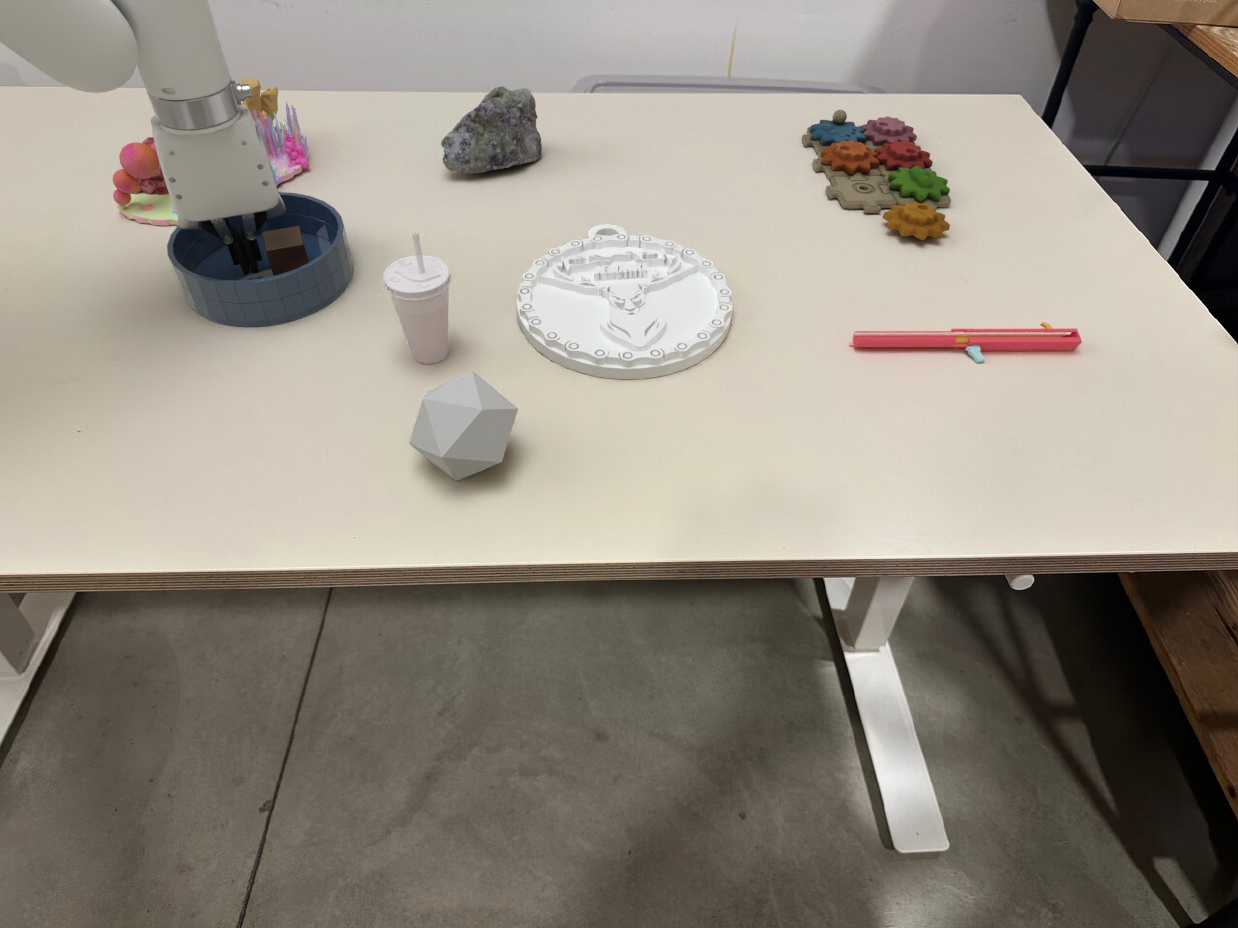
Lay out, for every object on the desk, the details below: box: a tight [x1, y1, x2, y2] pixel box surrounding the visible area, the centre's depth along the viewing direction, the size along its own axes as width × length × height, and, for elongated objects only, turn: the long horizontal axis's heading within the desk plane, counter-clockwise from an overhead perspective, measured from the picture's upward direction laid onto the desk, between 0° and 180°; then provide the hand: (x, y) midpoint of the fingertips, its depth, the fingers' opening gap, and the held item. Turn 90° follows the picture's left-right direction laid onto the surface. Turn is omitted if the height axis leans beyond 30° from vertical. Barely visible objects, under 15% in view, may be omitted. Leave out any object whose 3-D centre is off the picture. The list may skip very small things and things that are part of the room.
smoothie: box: [382, 231, 452, 365], centre depth 84 cm, size 6×6×14 cm
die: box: [408, 369, 519, 482], centre depth 76 cm, size 8×9×10 cm
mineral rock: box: [440, 85, 543, 174], centre depth 113 cm, size 13×11×10 cm
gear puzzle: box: [801, 109, 952, 241], centre depth 114 cm, size 31×16×4 cm, turn 4°
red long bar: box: [848, 322, 1083, 364], centre depth 91 cm, size 24×2×5 cm
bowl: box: [166, 191, 354, 328], centre depth 95 cm, size 18×18×6 cm
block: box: [262, 226, 309, 276], centre depth 96 cm, size 4×4×4 cm
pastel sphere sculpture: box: [112, 77, 311, 227], centre depth 110 cm, size 25×24×9 cm
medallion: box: [516, 223, 734, 380], centre depth 95 cm, size 24×27×2 cm
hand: (250, 267), depth 96 cm, fingers closed
